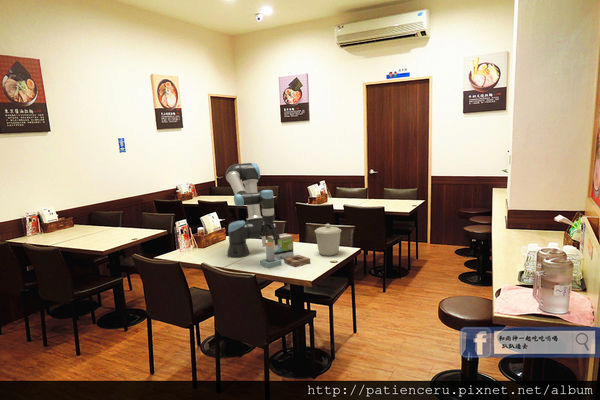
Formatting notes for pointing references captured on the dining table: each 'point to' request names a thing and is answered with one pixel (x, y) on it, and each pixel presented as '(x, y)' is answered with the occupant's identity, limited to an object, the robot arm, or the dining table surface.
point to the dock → (297, 260)
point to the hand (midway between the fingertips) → (270, 248)
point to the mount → (270, 263)
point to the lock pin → (269, 252)
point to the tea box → (283, 246)
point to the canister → (328, 240)
